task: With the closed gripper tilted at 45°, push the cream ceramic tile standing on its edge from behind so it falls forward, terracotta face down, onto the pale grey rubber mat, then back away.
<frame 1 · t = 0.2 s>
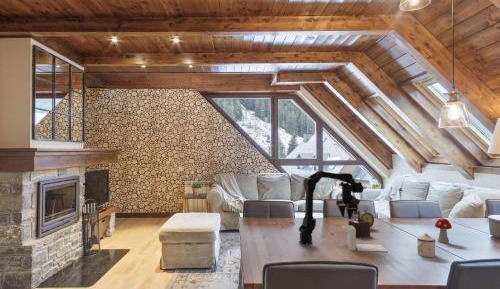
hand: (346, 217, 229), 14 cm above the table, tool pointing down, fingers open, 9 cm apart
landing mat: (369, 248, 211), on the table
tile: (351, 247, 212), on the table
alarm clock: (365, 229, 266), on the table
dark brown boxy piece: (357, 234, 247), on the table
decorative mushroom: (443, 242, 226), on the table
teacup with lid: (424, 255, 197), on the table
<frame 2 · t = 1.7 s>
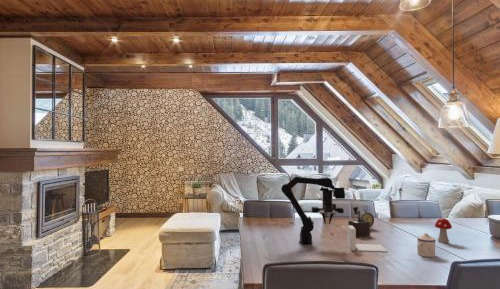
hand: (327, 224, 220), 12 cm above the table, tool pointing down, fingers closed
nothing on the table moved.
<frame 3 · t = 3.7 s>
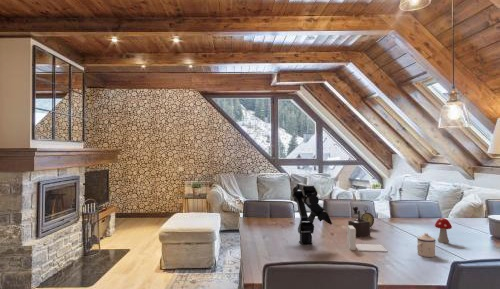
hand: (331, 224, 213), 13 cm above the table, tool tilted 45°, fingers closed
nothing on the table moved.
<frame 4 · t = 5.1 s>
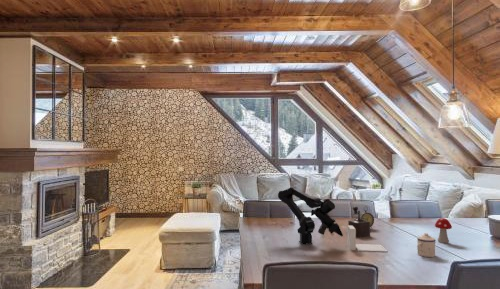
hand: (342, 236, 213), 7 cm above the table, tool tilted 45°, fingers closed
nothing on the table moved.
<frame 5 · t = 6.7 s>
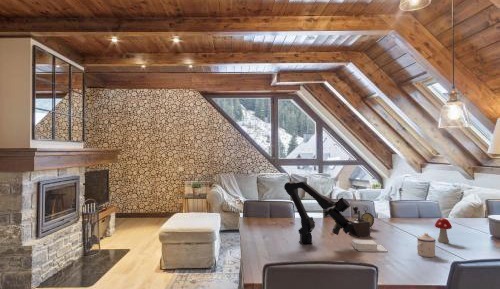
hand: (356, 236, 211), 7 cm above the table, tool tilted 45°, fingers closed
tile: (353, 244, 212), point 2 cm above the table, tilted 90°, touching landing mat
everything else where it was.
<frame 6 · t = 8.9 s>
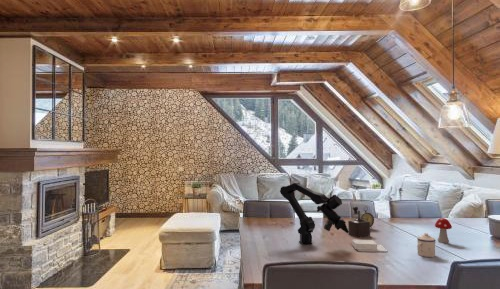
hand: (348, 232, 211), 9 cm above the table, tool tilted 45°, fingers closed
nothing on the table moved.
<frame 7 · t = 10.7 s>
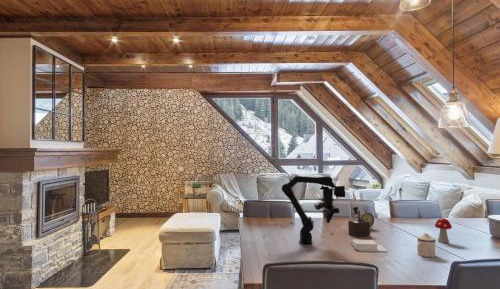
hand: (328, 222, 219), 13 cm above the table, tool pointing down, fingers closed
nothing on the table moved.
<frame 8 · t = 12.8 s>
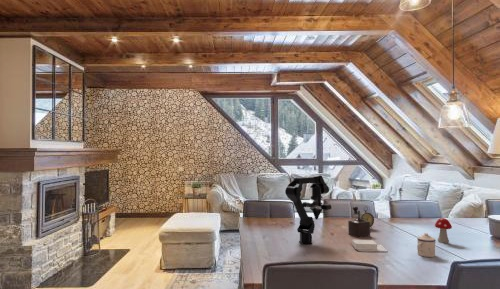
hand: (316, 219, 231), 13 cm above the table, tool pointing down, fingers closed
nothing on the table moved.
at the end: tile tilted 90°; tile touching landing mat; the gripper is holding nothing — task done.
